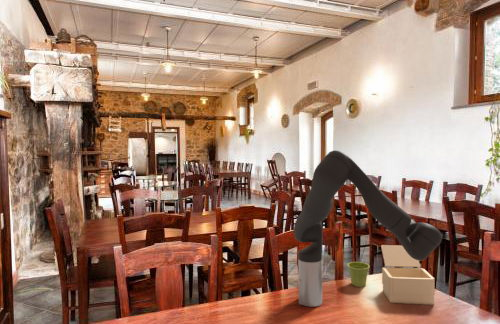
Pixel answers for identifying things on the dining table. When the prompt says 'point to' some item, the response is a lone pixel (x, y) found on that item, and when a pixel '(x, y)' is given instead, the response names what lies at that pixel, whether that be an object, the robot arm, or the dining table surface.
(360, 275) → the plant pot
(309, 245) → the robot arm
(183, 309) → the dining table surface
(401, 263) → the back flap
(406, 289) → the carton
